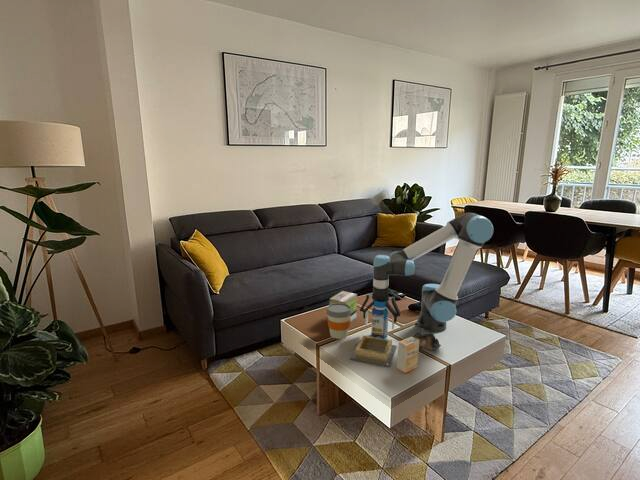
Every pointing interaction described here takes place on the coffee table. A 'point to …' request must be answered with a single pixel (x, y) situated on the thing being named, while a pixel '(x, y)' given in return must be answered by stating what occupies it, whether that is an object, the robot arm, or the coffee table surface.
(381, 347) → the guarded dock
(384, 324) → the beverage bottle
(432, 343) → the bison figurine
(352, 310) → the tea box
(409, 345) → the supplement box
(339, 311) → the reusable coffee cup
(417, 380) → the coffee table surface
